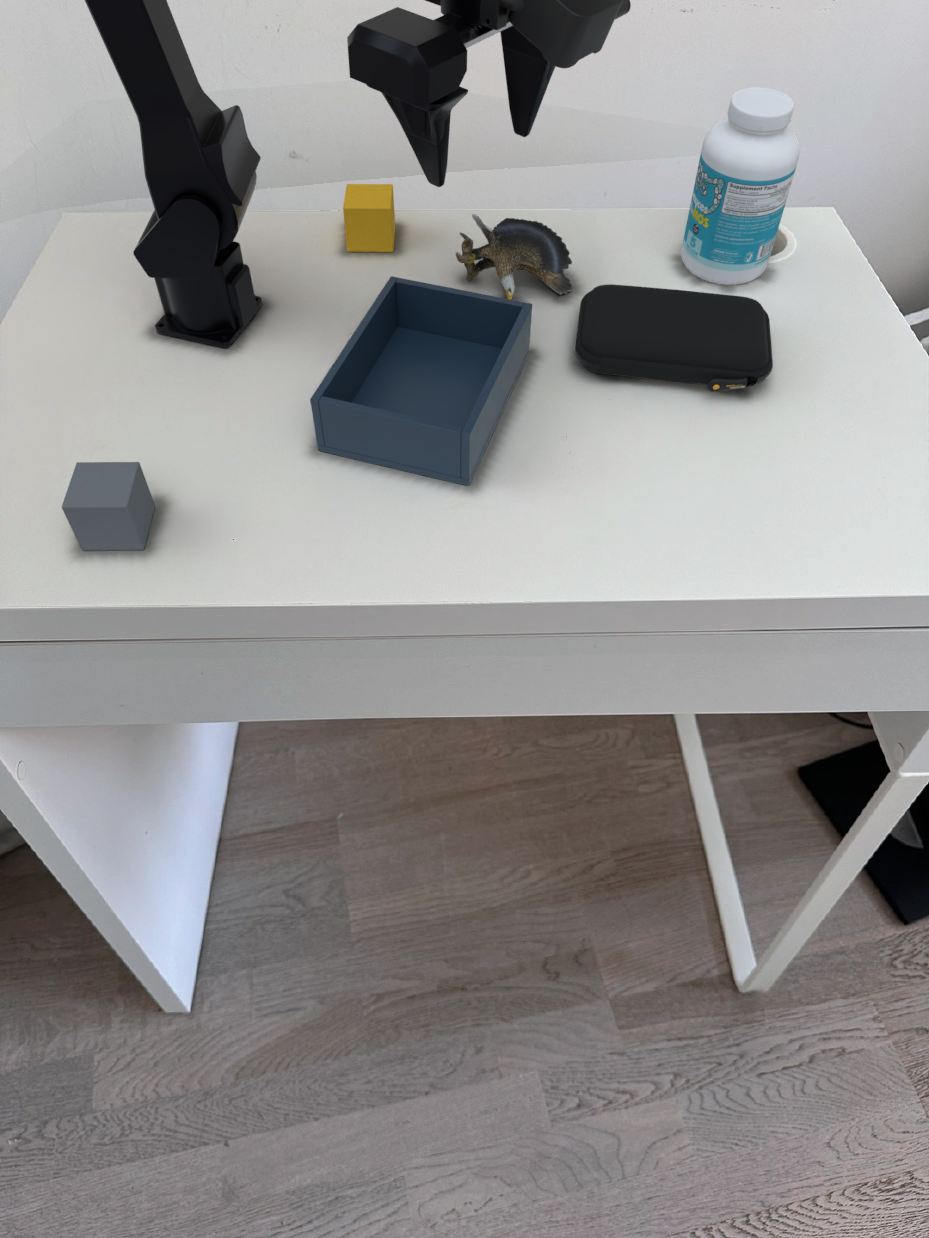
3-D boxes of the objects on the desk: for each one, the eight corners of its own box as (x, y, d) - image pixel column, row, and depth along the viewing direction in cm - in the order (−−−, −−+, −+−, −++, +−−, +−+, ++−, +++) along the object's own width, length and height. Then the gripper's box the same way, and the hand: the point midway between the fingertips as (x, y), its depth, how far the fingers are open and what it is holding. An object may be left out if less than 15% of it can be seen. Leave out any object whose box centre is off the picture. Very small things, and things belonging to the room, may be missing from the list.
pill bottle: (678, 237, 83) (711, 75, 73) (763, 244, 83) (809, 81, 72) (678, 285, 79) (713, 120, 68) (768, 293, 78) (817, 127, 68)
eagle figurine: (460, 308, 75) (574, 294, 73) (449, 211, 72) (566, 194, 71) (473, 306, 82) (577, 293, 80) (463, 218, 80) (569, 202, 78)
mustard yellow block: (347, 252, 82) (342, 208, 78) (350, 227, 84) (346, 183, 81) (393, 252, 82) (390, 208, 78) (395, 227, 84) (392, 184, 81)
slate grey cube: (81, 550, 60) (60, 507, 57) (95, 506, 63) (76, 461, 60) (144, 550, 60) (126, 506, 57) (155, 505, 63) (139, 461, 60)
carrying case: (569, 389, 70) (768, 410, 69) (573, 355, 68) (780, 376, 67) (580, 306, 77) (762, 324, 76) (584, 273, 74) (773, 290, 73)
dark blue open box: (317, 451, 66) (309, 399, 63) (393, 327, 75) (390, 276, 71) (469, 486, 64) (469, 435, 61) (528, 355, 73) (532, 303, 69)
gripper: (499, -42, 44) (486, 260, 56) (704, -130, 53) (654, 148, 65) (329, -97, 48) (352, 196, 61) (546, -170, 57) (527, 99, 70)
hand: (480, 159), depth 64 cm, fingers open, 9 cm apart
